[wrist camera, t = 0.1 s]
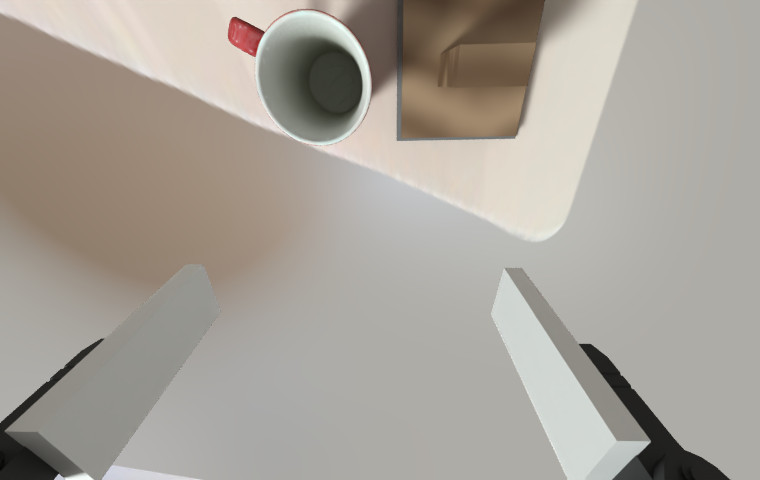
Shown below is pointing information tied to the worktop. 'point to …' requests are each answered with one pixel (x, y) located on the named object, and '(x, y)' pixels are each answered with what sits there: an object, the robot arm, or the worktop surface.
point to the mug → (308, 74)
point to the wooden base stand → (466, 66)
